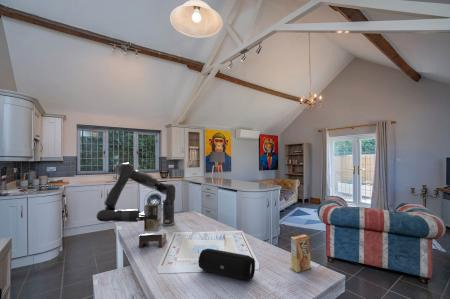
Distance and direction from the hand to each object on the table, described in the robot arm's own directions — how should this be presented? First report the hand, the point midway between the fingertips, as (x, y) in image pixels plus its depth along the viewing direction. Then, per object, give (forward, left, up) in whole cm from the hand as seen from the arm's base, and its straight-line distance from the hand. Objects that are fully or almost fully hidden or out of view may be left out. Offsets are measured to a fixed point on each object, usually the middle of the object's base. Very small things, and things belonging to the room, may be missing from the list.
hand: (156, 215), depth 138 cm
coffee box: (0, -2, -9) cm, 9 cm away
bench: (0, -2, -18) cm, 18 cm away
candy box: (+32, +81, -18) cm, 89 cm away
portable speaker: (+36, +44, -18) cm, 60 cm away
